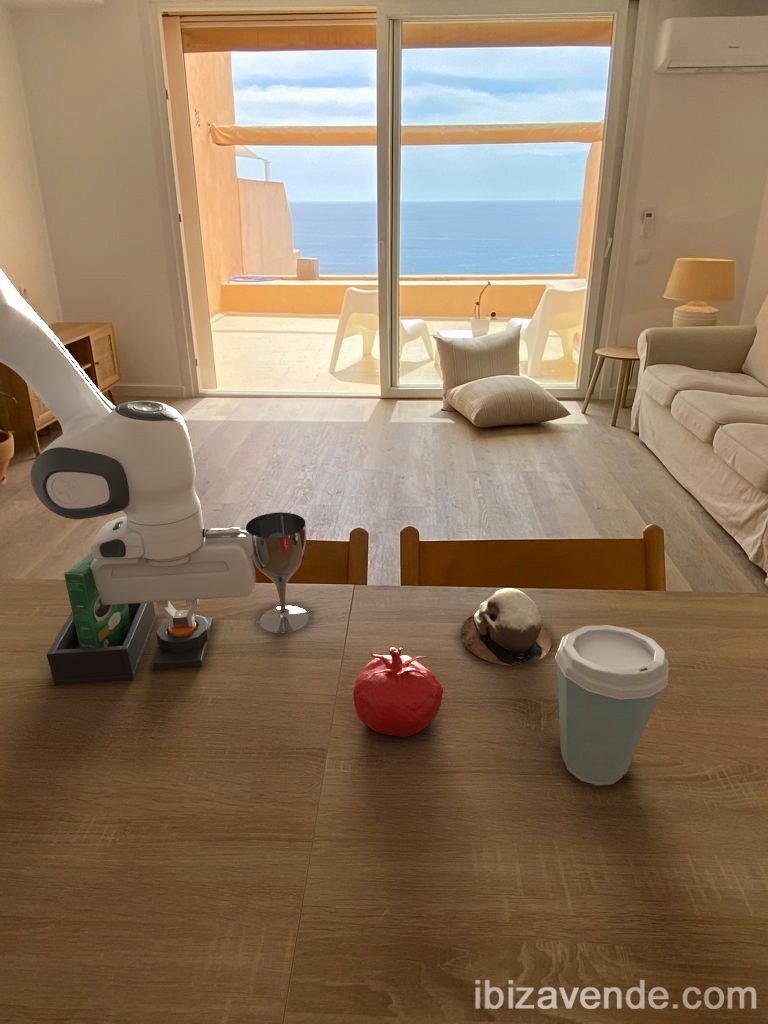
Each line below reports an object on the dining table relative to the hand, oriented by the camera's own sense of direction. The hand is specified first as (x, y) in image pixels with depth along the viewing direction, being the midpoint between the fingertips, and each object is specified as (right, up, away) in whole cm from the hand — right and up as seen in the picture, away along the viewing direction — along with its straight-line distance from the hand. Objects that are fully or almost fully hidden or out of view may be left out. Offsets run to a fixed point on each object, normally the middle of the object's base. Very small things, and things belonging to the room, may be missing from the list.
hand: (182, 625), depth 92 cm
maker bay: (-10, -4, +1) cm, 11 cm away
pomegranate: (+28, -9, -12) cm, 32 cm away
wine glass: (+12, 0, +7) cm, 14 cm away
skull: (+43, -2, +2) cm, 43 cm away
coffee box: (-10, -3, 0) cm, 10 cm away
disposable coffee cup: (+49, -12, -19) cm, 54 cm away
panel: (0, -3, +1) cm, 3 cm away
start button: (0, -2, +1) cm, 2 cm away
